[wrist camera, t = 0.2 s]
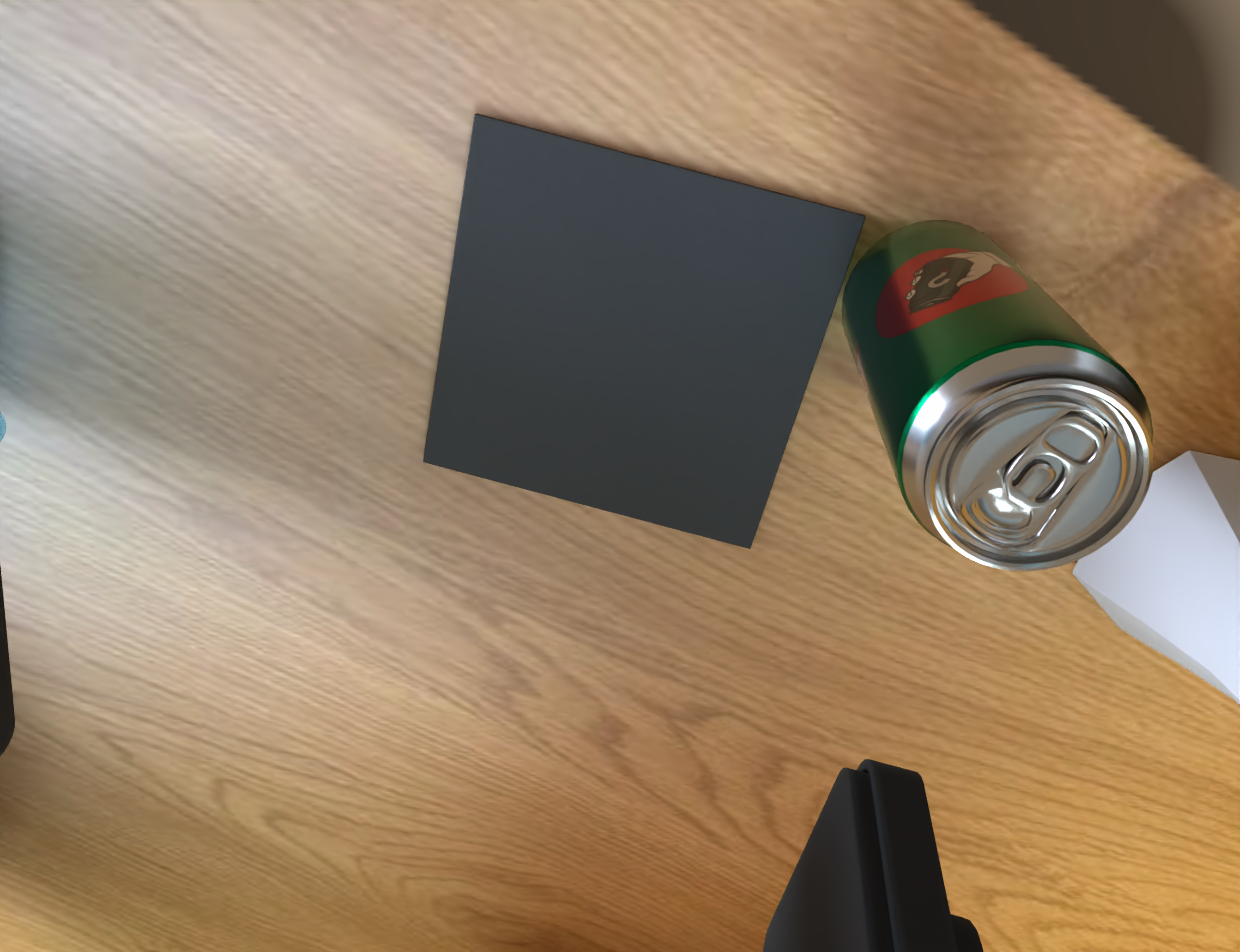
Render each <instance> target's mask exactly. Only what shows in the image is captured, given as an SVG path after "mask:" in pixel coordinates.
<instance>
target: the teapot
mask: <svg viewBox="0 0 1240 952" xmlns="http://www.w3.org/2000/svg"><path fill="white" fill-rule="evenodd" d="M5 431H6V423H5V420H4V418H3V415H2V414H1V412H0V442H1V440H2V439H3V437H4V434H5Z"/></svg>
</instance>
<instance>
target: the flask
mask: <svg viewBox="0 0 1240 952" xmlns="http://www.w3.org/2000/svg"><path fill="white" fill-rule="evenodd" d="M1072 573H1073V575H1074V576H1075V577H1076V578H1077V579H1078V580H1079V582H1080V583H1081V584H1082V585H1083V586H1084V587H1085V589H1086V590H1087V591H1088V592H1089V593H1090V594H1091V596H1092V597H1093V598H1094V599H1095V600H1096V602H1097V603H1098V604H1099V605H1100V606H1101V607H1102V609H1103V610H1104V611H1105V612H1106V613H1107V614H1108V616H1109V617H1110V618H1111V619H1112V620H1113V621H1114V623H1115V624H1116V625H1117V626H1118V627H1119V628H1120V629H1122V630H1123V631H1125V632H1126V633H1128V634H1130V635H1131V636H1133V637H1134V638H1136V639H1138V640H1139V641H1141V642H1143V643H1144V644H1146V645H1148V646H1150V647H1151V648H1153V649H1155V650H1156V651H1158V652H1160V653H1161V654H1163V655H1165V656H1167V657H1168V658H1170V659H1172V660H1173V661H1175V662H1177V663H1179V664H1180V665H1182V666H1183V667H1185V668H1186V669H1188V670H1189V671H1191V672H1192V673H1194V674H1195V675H1197V676H1198V677H1200V678H1201V679H1203V680H1205V681H1206V682H1208V683H1209V684H1211V685H1212V686H1214V687H1215V688H1217V689H1218V690H1220V691H1221V692H1223V693H1224V694H1226V695H1227V696H1229V697H1230V698H1232V699H1234V700H1235V701H1236V702H1237V703H1238V704H1239V705H1240V461H1239V460H1235V459H1230V458H1225V457H1220V456H1215V455H1210V454H1206V453H1201V452H1196V451H1191V450H1188V451H1187V452H1185V453H1184V454H1182V455H1180V456H1179V457H1177V458H1175V459H1174V460H1172V461H1170V462H1169V463H1167V464H1166V465H1164V466H1162V467H1161V468H1159V469H1157V470H1156V471H1154V472H1153V474H1152V478H1151V482H1150V486H1149V490H1148V492H1147V494H1146V496H1145V499H1144V501H1143V503H1142V505H1141V507H1140V508H1139V510H1138V511H1137V513H1136V514H1135V516H1134V517H1133V519H1132V520H1131V521H1130V522H1129V523H1128V524H1127V526H1126V527H1125V528H1124V529H1123V530H1122V531H1121V532H1120V533H1119V534H1118V535H1117V536H1115V537H1114V538H1113V539H1112V540H1111V541H1110V542H1108V543H1107V544H1105V545H1104V546H1102V547H1101V548H1099V549H1098V550H1096V551H1095V552H1093V553H1091V554H1089V555H1087V556H1085V557H1083V558H1081V559H1079V560H1078V561H1077V564H1076V566H1075V568H1074V570H1073V572H1072Z"/></svg>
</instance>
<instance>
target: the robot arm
mask: <svg viewBox="0 0 1240 952" xmlns="http://www.w3.org/2000/svg"><path fill="white" fill-rule="evenodd" d="M14 728H15V716H14V705H13V694H12V684H11V673H10V662H9V652H8V641H7V631H6V620H5V609H4V599H3V588H2V577H1V567H0V756H1V755H2V753H3V752H4V751H5V749H6V748H7V746H8V744H9V742H10V740H11V738H12V735H13V732H14ZM763 952H983V948H982V944H981V941H980V938H979V935H978V932H977V930H976V928H975V927H974V925H973V924H972V923H971V921H970V920H968V919H965V918H962V917H959V916H955V915H951V914H950V911H949V906H948V901H947V896H946V891H945V886H944V881H943V876H942V871H941V866H940V861H939V856H938V852H937V847H936V842H935V837H934V832H933V827H932V822H931V817H930V812H929V807H928V802H927V797H926V792H925V787H924V783H923V780H922V777H921V776H920V774H919V773H918V772H914V771H911V770H907V769H903V768H899V767H896V766H892V765H888V764H885V763H881V762H877V761H873V760H870V759H865V760H864V761H863V762H862V763H861V764H860V766H859V767H858V769H857V770H853V769H850V768H843V769H842V770H841V771H840V773H839V775H838V777H837V779H836V781H835V783H834V785H833V788H832V790H831V792H830V794H829V796H828V798H827V801H826V803H825V805H824V807H823V809H822V811H821V814H820V816H819V818H818V820H817V822H816V825H815V827H814V829H813V831H812V833H811V835H810V838H809V840H808V842H807V844H806V846H805V848H804V851H803V853H802V855H801V857H800V859H799V862H798V864H797V866H796V868H795V870H794V872H793V875H792V877H791V879H790V881H789V883H788V885H787V888H786V890H785V892H784V894H783V896H782V899H781V901H780V903H779V905H778V907H777V909H776V912H775V914H774V916H773V918H772V920H771V922H770V925H769V927H768V930H767V934H766V938H765V943H764V948H763Z"/></svg>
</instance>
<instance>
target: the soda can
mask: <svg viewBox="0 0 1240 952" xmlns="http://www.w3.org/2000/svg"><path fill="white" fill-rule="evenodd" d="M842 322H843V327H844V331H845V335H846V338H847V340H848V343H849V346H850V349H851V352H852V355H853V357H854V360H855V363H856V366H857V369H858V372H859V374H860V377H861V380H862V383H863V386H864V389H865V391H866V394H867V397H868V400H869V403H870V406H871V408H872V411H873V414H874V417H875V420H876V423H877V425H878V428H879V431H880V434H881V437H882V440H883V442H884V445H885V448H886V451H887V454H888V457H889V459H890V462H891V465H892V468H893V471H894V473H895V476H896V479H897V482H898V485H899V488H900V490H901V493H902V496H903V498H904V500H905V502H906V504H907V506H908V509H909V510H910V512H911V513H912V514H913V516H914V517H915V519H916V520H917V521H918V523H919V524H920V525H921V526H922V527H923V528H924V529H925V530H926V531H927V532H929V533H930V534H931V535H932V536H934V537H935V538H937V539H938V540H939V541H941V542H942V543H944V544H946V545H948V546H950V547H952V548H954V549H956V550H957V551H959V552H960V553H962V554H963V555H964V556H966V557H968V558H970V559H972V560H974V561H976V562H978V563H980V564H983V565H987V566H990V567H993V568H997V569H1004V570H1010V571H1035V570H1045V569H1050V568H1054V567H1058V566H1063V565H1065V564H1068V563H1071V562H1074V561H1077V560H1079V559H1081V558H1083V557H1085V556H1087V555H1089V554H1091V553H1093V552H1095V551H1096V550H1098V549H1099V548H1101V547H1102V546H1104V545H1105V544H1107V543H1108V542H1110V541H1111V540H1112V539H1113V538H1114V537H1115V536H1117V535H1118V534H1119V533H1120V532H1121V531H1122V530H1123V529H1124V528H1125V527H1126V526H1127V524H1128V523H1129V522H1130V521H1131V520H1132V519H1133V517H1134V516H1135V514H1136V513H1137V511H1138V510H1139V508H1140V507H1141V505H1142V503H1143V501H1144V499H1145V496H1146V494H1147V492H1148V490H1149V486H1150V482H1151V478H1152V474H1153V451H1152V440H1153V427H1152V419H1151V413H1150V410H1149V407H1148V404H1147V401H1146V398H1145V396H1144V395H1143V393H1142V391H1141V389H1140V388H1139V386H1138V384H1137V382H1136V381H1135V380H1134V379H1133V378H1132V377H1131V376H1130V374H1129V373H1128V372H1127V371H1126V370H1125V369H1124V368H1123V367H1122V366H1121V365H1120V364H1119V363H1118V362H1117V361H1116V360H1115V359H1114V358H1113V357H1112V356H1111V355H1110V354H1109V353H1108V352H1107V351H1106V350H1105V349H1104V348H1103V347H1102V346H1101V345H1100V344H1099V343H1098V342H1097V341H1096V340H1095V339H1093V338H1092V337H1091V336H1090V335H1089V334H1088V333H1087V332H1086V331H1085V330H1084V329H1083V328H1082V327H1081V326H1080V325H1079V324H1078V323H1077V322H1076V321H1075V320H1074V319H1073V318H1072V317H1071V316H1070V315H1069V314H1068V313H1067V312H1066V311H1065V310H1064V309H1063V308H1062V307H1061V306H1060V305H1059V304H1058V303H1057V302H1056V301H1055V300H1054V299H1053V298H1051V297H1050V296H1049V295H1048V294H1047V293H1046V292H1045V291H1044V290H1043V289H1042V288H1041V287H1040V286H1039V285H1038V284H1037V283H1036V282H1035V281H1034V280H1033V279H1032V278H1031V277H1030V276H1029V275H1028V274H1027V273H1026V272H1025V271H1024V270H1023V269H1022V268H1021V267H1020V266H1019V265H1018V264H1017V263H1016V262H1015V261H1014V260H1013V259H1012V258H1010V257H1009V256H1008V255H1007V254H1006V253H1005V252H1004V251H1003V250H1002V249H1001V248H1000V247H999V246H998V245H997V244H996V243H995V242H994V241H993V240H992V239H990V238H989V237H988V236H987V235H985V234H984V233H983V232H981V231H979V230H977V229H975V228H973V227H971V226H968V225H965V224H962V223H959V222H953V221H946V220H930V221H924V222H918V223H914V224H911V225H908V226H904V227H902V228H900V229H898V230H896V231H893V232H891V233H889V234H888V235H886V236H885V237H883V238H882V239H881V240H879V241H878V242H876V243H875V244H874V245H873V246H872V247H871V248H870V249H869V250H868V251H867V252H866V253H865V254H864V255H863V256H862V258H861V259H860V260H859V261H858V263H857V264H856V266H855V268H854V269H853V271H852V273H851V275H850V277H849V279H848V282H847V284H846V287H845V291H844V295H843V300H842Z"/></svg>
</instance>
